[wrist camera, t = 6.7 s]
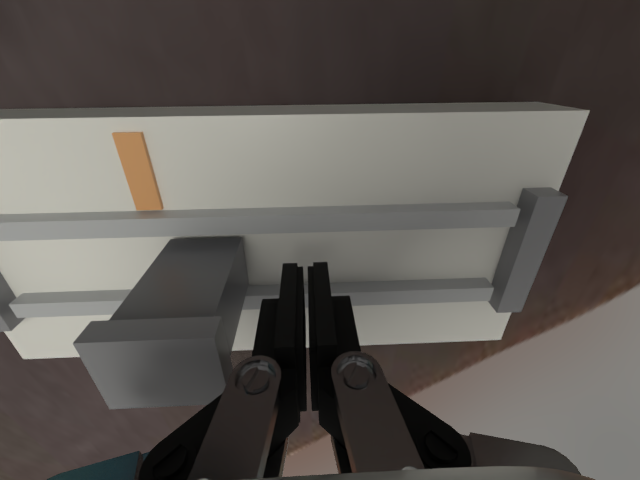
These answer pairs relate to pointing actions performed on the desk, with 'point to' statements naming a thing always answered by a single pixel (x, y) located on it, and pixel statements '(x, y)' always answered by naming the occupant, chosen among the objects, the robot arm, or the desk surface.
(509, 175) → the slider track base
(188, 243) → the fader tab
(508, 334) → the desk surface
